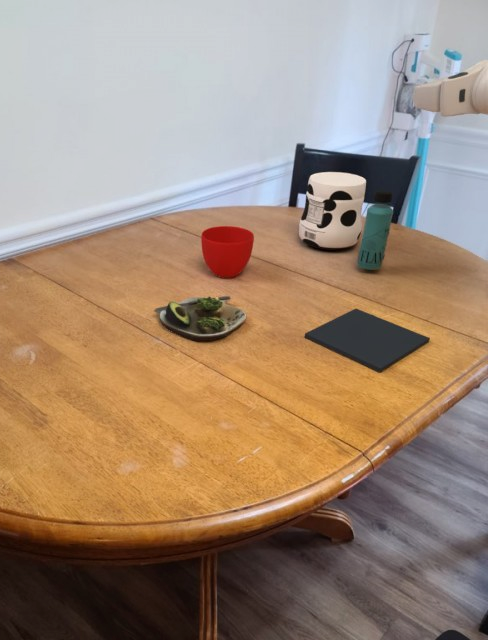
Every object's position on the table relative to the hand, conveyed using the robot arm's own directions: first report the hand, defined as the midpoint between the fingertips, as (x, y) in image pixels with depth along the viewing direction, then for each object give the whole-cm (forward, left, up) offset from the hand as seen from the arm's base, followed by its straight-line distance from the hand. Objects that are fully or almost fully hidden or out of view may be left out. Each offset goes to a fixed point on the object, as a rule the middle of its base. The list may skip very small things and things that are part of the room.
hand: (443, 81), depth 117 cm
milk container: (+27, -7, -44) cm, 52 cm away
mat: (-13, +33, -44) cm, 56 cm away
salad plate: (+15, +54, -44) cm, 71 cm away
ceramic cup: (+32, +29, -44) cm, 61 cm away
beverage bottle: (+8, +1, -44) cm, 44 cm away
